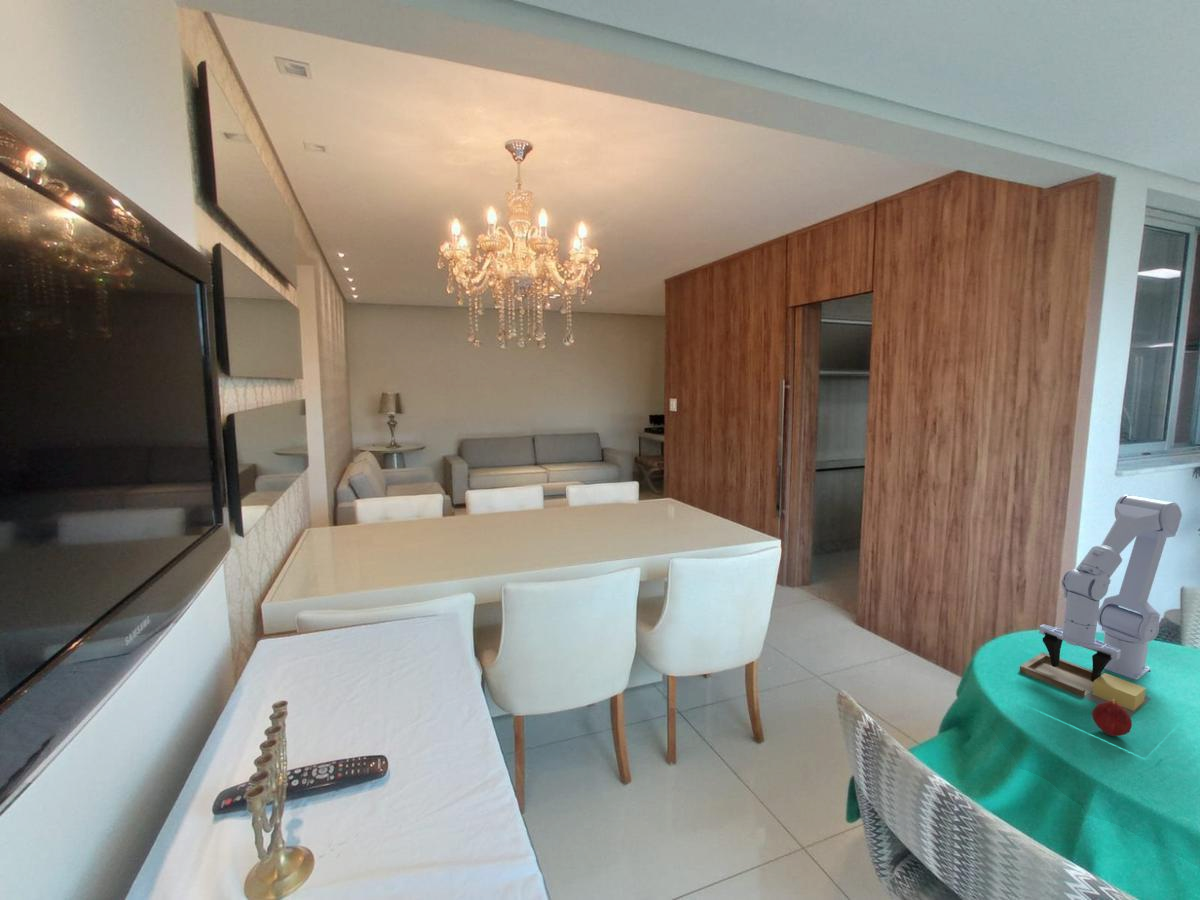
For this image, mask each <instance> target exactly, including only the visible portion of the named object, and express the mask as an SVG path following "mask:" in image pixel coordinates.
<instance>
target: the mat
mask: <svg viewBox="0 0 1200 900" xmlns="http://www.w3.org/2000/svg"><path fill="white" fill-rule="evenodd" d="M1092 693H1093V689H1092V690H1091V691H1090V692H1088V693H1087V694H1086V695H1084V696H1083V697H1082V698H1084V699H1086V700H1088V701H1091V702H1093V703H1096V704H1097V705H1099V704H1101V703H1105V702H1110V701H1108V700H1105V699H1103V698H1100V697H1098V696H1095V695H1093V694H1092ZM1150 700H1151V697H1148V696H1146V695H1145V698H1144V702H1143V703H1142V704H1141V705H1140V706H1139V707H1138V708H1137V709H1136V710H1134V711H1133V710H1130V709H1128V708H1125V707H1123V706H1121V707H1122V708H1123V709H1125V711H1126V712H1127V713H1128V715H1129V716H1130V718H1131V717H1132V716H1134V714H1135V713H1136V712H1138V711H1139V710H1140V709H1141V708H1142V707H1143V706H1144V705H1146V703H1148V701H1150ZM1119 706H1120V705H1119Z"/></svg>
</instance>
